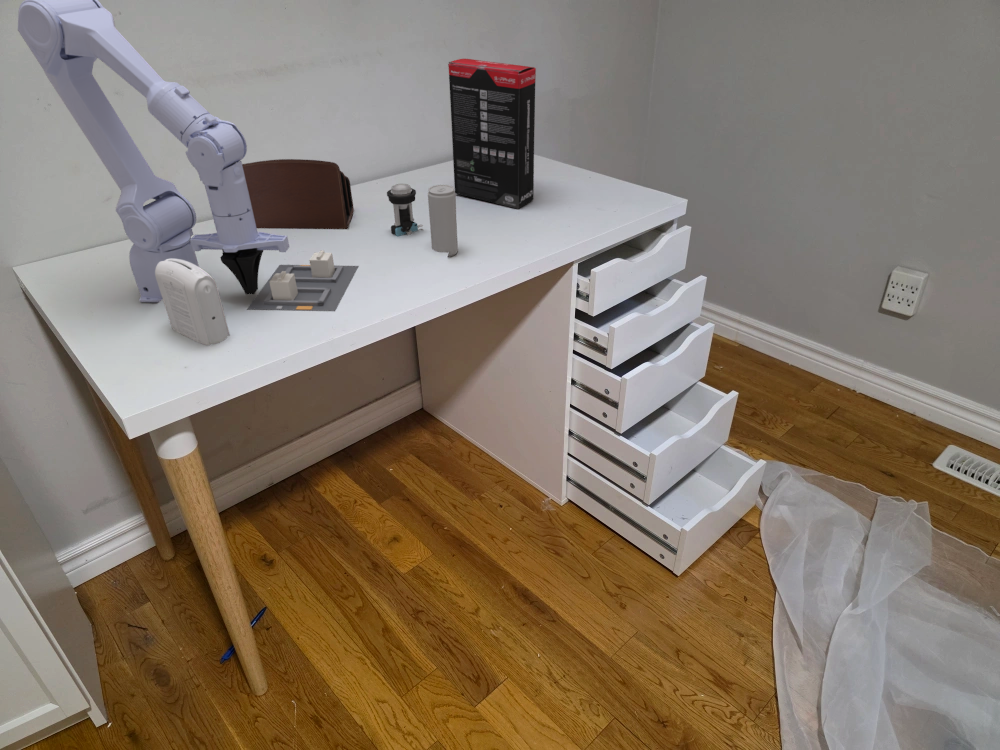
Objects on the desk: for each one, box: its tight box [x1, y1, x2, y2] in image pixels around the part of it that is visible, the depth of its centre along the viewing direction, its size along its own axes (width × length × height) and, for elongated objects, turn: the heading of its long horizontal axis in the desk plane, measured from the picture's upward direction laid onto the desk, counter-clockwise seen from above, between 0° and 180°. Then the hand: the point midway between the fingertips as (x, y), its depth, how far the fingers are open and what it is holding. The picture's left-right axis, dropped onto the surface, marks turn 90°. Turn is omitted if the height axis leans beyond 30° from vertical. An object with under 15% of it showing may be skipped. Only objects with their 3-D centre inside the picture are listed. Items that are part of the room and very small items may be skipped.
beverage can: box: [427, 184, 459, 258], centre depth 124 cm, size 5×5×12 cm
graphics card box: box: [447, 58, 537, 210], centre depth 142 cm, size 17×7×27 cm, turn 58°
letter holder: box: [242, 158, 355, 230], centre depth 136 cm, size 10×20×14 cm, turn 93°
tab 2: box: [308, 249, 335, 278], centre depth 116 cm, size 3×3×4 cm
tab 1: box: [269, 271, 298, 300], centre depth 110 cm, size 3×3×4 cm
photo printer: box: [155, 258, 231, 347], centre depth 100 cm, size 10×4×12 cm, turn 55°
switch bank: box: [246, 264, 359, 312], centre depth 114 cm, size 14×16×2 cm
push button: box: [386, 183, 424, 238], centre depth 130 cm, size 7×5×10 cm
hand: (251, 291), depth 111 cm, fingers closed
